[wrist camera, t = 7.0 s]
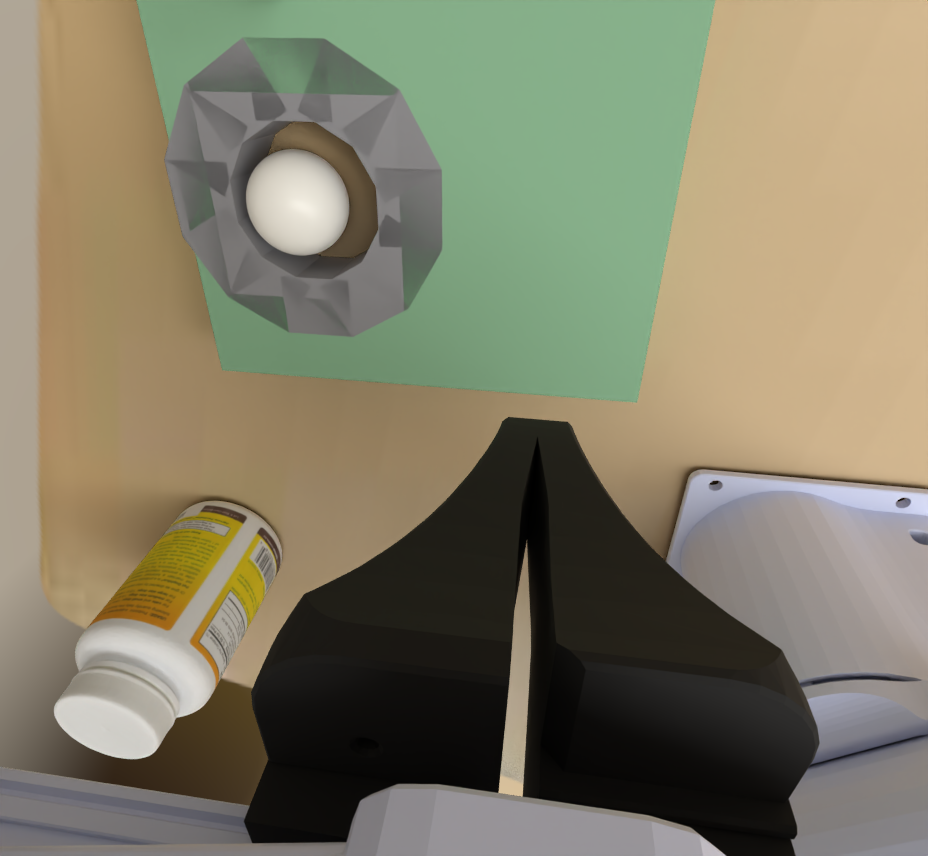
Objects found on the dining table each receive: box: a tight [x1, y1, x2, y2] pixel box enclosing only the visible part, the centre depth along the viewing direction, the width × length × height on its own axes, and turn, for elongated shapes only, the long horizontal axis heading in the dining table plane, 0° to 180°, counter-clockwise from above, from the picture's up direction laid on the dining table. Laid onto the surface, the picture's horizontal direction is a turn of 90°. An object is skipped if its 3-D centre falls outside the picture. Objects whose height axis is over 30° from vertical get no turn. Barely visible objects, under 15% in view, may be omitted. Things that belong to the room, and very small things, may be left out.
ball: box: [246, 149, 349, 256], centre depth 19 cm, size 3×3×3 cm
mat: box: [137, 0, 715, 402], centre depth 19 cm, size 15×12×2 cm
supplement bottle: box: [54, 501, 282, 759], centre depth 26 cm, size 6×6×10 cm
